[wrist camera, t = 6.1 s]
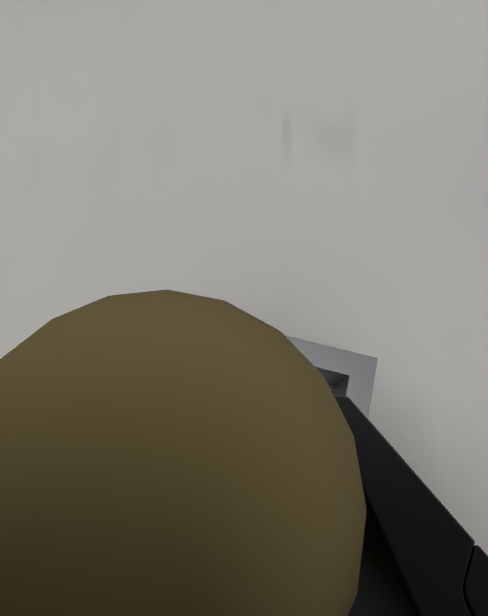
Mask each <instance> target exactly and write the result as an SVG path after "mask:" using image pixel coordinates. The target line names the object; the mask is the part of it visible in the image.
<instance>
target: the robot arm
mask: <svg viewBox="0 0 488 616" xmlns="http://www.w3.org/2000/svg"><path fill="white" fill-rule="evenodd" d="M334 397H335V399H336V401H337V403H338V405H339V407H340V409H341V411H342V413H343V415H344V417H345V419H346V421H347V423H348V425H349V427H350V429H351V431H352V433H353V435H354V440H355V446H356V451H357V457H358V463H359V469H360V474H361V480H362V486H363V491H364V497H365V503H366V521H365V529H364V538H363V547H362V555H361V564H360V573H359V581H358V590H357V596H356V598H355V600H354V603H353V605H352V607H351V610H350V612H349V614H348V616H488V556H487V554H486V553H485V552H484V551H483V550H482V549H481V548H480V547H479V546H478V545H475V546H474V544H475V542H474V540H473V539H472V538H471V536H470V535H469V534H468V533H467V532H466V531H465V530H464V528H463V527H462V526H461V525H460V524H459V523H458V522H457V520H456V519H455V518H454V517H453V516H452V515H451V514H450V512H449V511H448V510H447V509H446V508H445V507H444V506H443V504H442V503H441V502H440V501H439V500H438V499H437V498H436V496H435V495H434V494H433V493H432V492H431V491H430V490H429V488H428V487H427V486H426V485H425V484H424V483H423V482H422V480H421V479H420V478H419V477H418V476H417V475H416V474H415V472H414V471H413V470H412V469H411V468H410V467H409V466H408V464H407V463H406V462H405V461H404V460H403V459H402V458H401V456H400V455H399V454H398V453H397V452H396V451H395V450H394V448H393V447H392V446H391V445H390V444H389V443H388V441H387V440H386V439H385V438H384V437H383V436H382V435H381V433H380V432H379V431H378V430H377V429H376V428H375V427H374V425H373V424H372V423H371V422H370V421H369V420H368V419H367V417H366V416H365V415H364V414H363V413H362V412H361V411H360V409H359V408H358V407H357V406H356V405H355V404H354V403H353V401H352V400H351V399H350V398H349V397H347V396H340V395H334Z"/></svg>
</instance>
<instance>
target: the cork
mask: <svg viewBox="0 0 488 616" xmlns="http://www.w3.org/2000/svg"><path fill="white" fill-rule="evenodd" d="M365 521H366V503H365V497H364V491H363V486H362V480H361V474H360V469H359V463H358V457H357V451H356V446H355V440H354V435H353V433H352V431H351V429H350V427H349V425H348V423H347V421H346V419H345V417H344V415H343V413H342V411H341V409H340V407H339V405H338V403H337V401H336V399H335V397H334V395H333V393H332V391H331V389H330V387H329V385H328V383H327V381H326V379H325V377H324V376H323V375H322V374H321V373H320V372H319V371H318V370H317V369H316V368H315V367H314V365H313V364H312V363H311V362H310V361H309V360H308V359H307V358H306V357H305V356H304V355H303V354H302V353H301V352H300V351H299V350H298V349H297V348H296V347H295V346H294V345H293V344H292V342H291V341H290V340H289V339H288V338H287V337H286V336H285V335H284V334H283V333H282V332H280V331H279V330H277V329H275V328H274V327H272V326H270V325H268V324H266V323H264V322H263V321H261V320H259V319H257V318H255V317H254V316H252V315H250V314H248V313H246V312H244V311H243V310H241V309H239V308H237V307H235V306H233V305H232V304H230V303H228V302H226V301H223V300H218V299H213V298H208V297H202V296H197V295H192V294H187V293H182V292H177V291H172V290H159V291H150V292H141V293H131V294H122V295H112V296H107V297H105V298H102V299H100V300H97V301H95V302H93V303H90V304H88V305H85V306H83V307H81V308H78V309H76V310H73V311H71V312H68V313H66V314H64V315H61V316H59V317H56V318H54V319H52V320H50V321H49V322H48V323H46V324H45V325H44V326H43V327H41V328H40V329H39V330H37V331H36V332H35V333H34V334H32V335H31V336H30V337H28V338H27V339H26V340H25V341H23V342H22V343H21V344H19V345H18V346H17V347H16V348H14V349H13V350H12V351H10V352H9V353H8V354H6V355H5V356H4V357H3V358H1V359H0V616H348V614H349V612H350V610H351V607H352V605H353V603H354V600H355V598H356V596H357V590H358V581H359V573H360V564H361V555H362V547H363V538H364V529H365Z"/></svg>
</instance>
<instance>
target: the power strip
mask: <svg viewBox="0 0 488 616" xmlns="http://www.w3.org/2000/svg"><path fill="white" fill-rule="evenodd" d="M286 337H287V338H288V339H289V340H290V341H291V342H292V344H293V345H294V346H295V347H296V348H297V349H298V350H299V351H300V352H301V353H302V354H303V355H304V356H305V357H306V358H307V359H308V360H309V361H310V362H311V363H312V364H313V365H314V367H315V368H316V369H317V370H318V371H319V372H320V373H321V374H322V375H323V376H324V377H325V379H326V381H327V383H328V385H331V386H333V392H332V393H333V395H340V396H347V397H349V398H350V399H351V400H352V401H353V403H354V404H355V405H356V406H357V407H358V408H359V409H360V411H361V412H362V413H363V414H364V415H365V416H366V417H367V419H368V413H369V407H370V401H371V395H372V389H373V383H374V377H375V371H376V365H377V359H378V358H375V357H371V356H366V355H362V354H358V353H354V352H350V351H346V350H342V349H338V348H334V347H330V346H326V345H321V344H317V343H313V342H309V341H305V340H301V339H297V338H293V337H289V336H286Z"/></svg>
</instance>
